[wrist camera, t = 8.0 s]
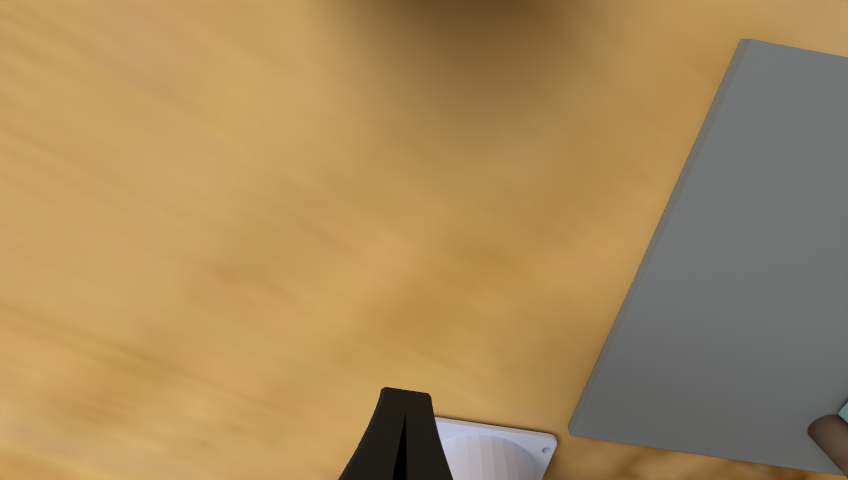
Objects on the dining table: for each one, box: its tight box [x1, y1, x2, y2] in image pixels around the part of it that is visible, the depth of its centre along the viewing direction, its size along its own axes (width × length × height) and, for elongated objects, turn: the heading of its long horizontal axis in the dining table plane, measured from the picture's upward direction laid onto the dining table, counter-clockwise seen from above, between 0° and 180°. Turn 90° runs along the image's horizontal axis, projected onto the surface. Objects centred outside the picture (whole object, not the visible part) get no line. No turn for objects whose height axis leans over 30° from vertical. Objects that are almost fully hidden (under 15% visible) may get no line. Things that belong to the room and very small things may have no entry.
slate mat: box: [568, 39, 848, 476], centre depth 21 cm, size 21×17×1 cm
